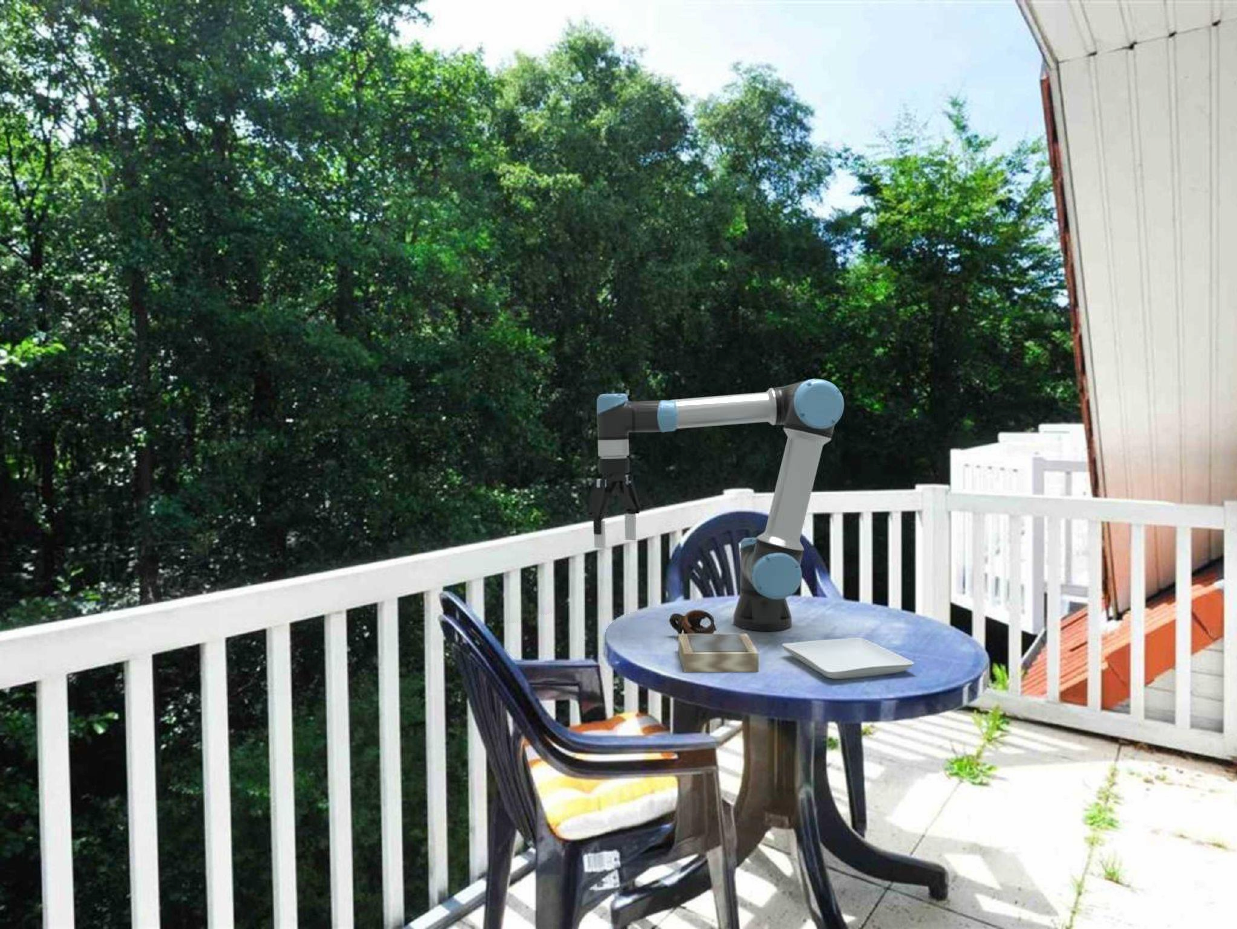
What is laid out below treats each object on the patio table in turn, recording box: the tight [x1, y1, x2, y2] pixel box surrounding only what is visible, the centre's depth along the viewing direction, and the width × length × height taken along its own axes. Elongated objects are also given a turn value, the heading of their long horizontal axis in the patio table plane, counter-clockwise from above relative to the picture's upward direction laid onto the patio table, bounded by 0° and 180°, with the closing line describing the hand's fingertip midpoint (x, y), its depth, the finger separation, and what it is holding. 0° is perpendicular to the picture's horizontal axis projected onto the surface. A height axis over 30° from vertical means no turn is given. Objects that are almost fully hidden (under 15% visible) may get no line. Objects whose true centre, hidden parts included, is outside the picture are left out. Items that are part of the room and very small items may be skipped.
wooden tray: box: [677, 633, 760, 673], centre depth 187 cm, size 16×16×4 cm
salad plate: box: [781, 637, 915, 680], centre depth 183 cm, size 21×21×3 cm
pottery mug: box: [668, 609, 717, 635], centre depth 205 cm, size 12×10×8 cm
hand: (615, 543), depth 204 cm, fingers open, 13 cm apart
